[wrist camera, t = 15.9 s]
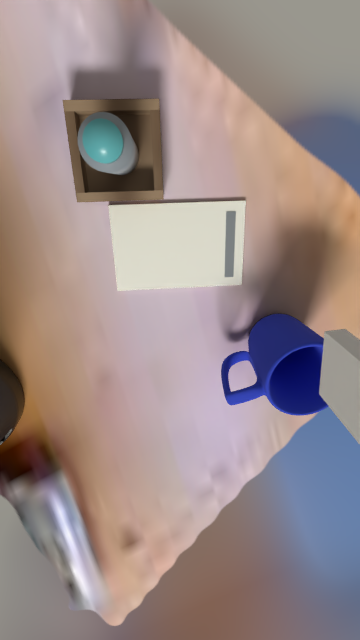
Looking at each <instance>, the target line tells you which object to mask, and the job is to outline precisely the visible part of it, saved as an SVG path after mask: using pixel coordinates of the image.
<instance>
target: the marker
mask: <svg viewBox="0 0 360 640" xmlns="http://www.w3.org/2000/svg"><path fill="white" fill-rule="evenodd" d="M78 147H79V151H80V153H81V155H82V157H83V159H84V160H85V161H86V162H87V164H89V165H90V166H91V167H92V168H94V169H96V170H98V171H101V172H106V173H112V174H117V175H127V174H129V173H131V172H132V171H133V170H134V169H135V168H136V166H137V164H138V161H139V152H138V149H137V146H136V144H135V142H134V140H133V138H132V136H131V134H130V132H129V130H128V128H127V127H126V125H125V124H124V122H123V121H122V120H121V119H119V118H118V117H117V116H115V115H113V114H111V113H108V112H97V113H94V114H91V115H90V116H88V117H87V118H86V119H85V120H84V121H83V122H82V124H81V126H80V128H79V131H78Z"/></svg>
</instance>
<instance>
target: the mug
mask: <svg viewBox="0 0 360 640" xmlns="http://www.w3.org/2000/svg"><path fill="white" fill-rule="evenodd" d="M323 344H324V338H322V337H321V336H319V335H318V334H317V333H315V332H314V331H313V330H311V329H310V328H308V327H307V326H306V325H304V324H303V323H302V322H300V321H299V320H297V319H296V318H294V317H292V316H289V315H286V314H272V315H269V316H266V317H264V318H262V319H261V320H260V321H258V322H257V323H256V324H255V325H254V327H253V328H252V330H251V332H250V335H249V340H248V345H249V352H246V351H240V352H236V353H233V354H231V355H229V356H228V357H227V358H226V359H225V360H224V361H223V364H222V369H221V377H222V384H223V389H224V394H225V398H226V400H227V403H228V404H229V405H235V404H239V403H243V402H247V401H250V400H253V399H256V398H258V397H260V396H262V395H266V396H267V398H268V399H269V401H270V402H271V404H272V405H273V406H274V407H275V408H277V409H278V410H280V411H282V412H284V413H287V414H290V415H308V414H313V413H316V412H319V411H321V410H323V409H325V408H326V407H328V405H327V403H326V402H325V401H324V400H323V398H322V397H321V396H320V395H319V388H320V377H321V366H322V355H323ZM244 360H248V361H250V362H251V364H252V366H253V368H254V371H255V373H256V376H257V382H256V383H255V384H254V385H252V386H250V387H247V388H244V389H241V390H237V391H233V392H231V391H230V387H229V381H228V372H229V369H230V367H231V366H232V365H234V364H235V363H237V362H240V361H244Z"/></svg>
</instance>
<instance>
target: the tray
mask: <svg viewBox="0 0 360 640" xmlns="http://www.w3.org/2000/svg"><path fill="white" fill-rule="evenodd" d="M63 106H64V113H65V120H66V127H67V134H68V141H69V148H70V155H71V162H72V169H73V176H74V183H75V190H76V197H77V202H100V201H131V200H161V199H163V177H162V154H161V132H160V109H159V99H104V100H63ZM97 112H108V113H111V114H113V115H115V116H117V117H118V118H119V119H121V120H122V121H123V122H124V124H125V125H126V127H127V128H128V130H129V132H130V134H131V136H132V138H133V140H134V142H135V144H136V146H137V149H138V152H139V161H138V164H137V166H136V168H135V169H134V170H133V171H132V172H131V173H129V174H127V175H117V174H112V173H106V172H101V171H98V170H96V169H94V168H92V167H91V166H90V165H89V164H87V162H86V161H85V160H84V159H83V157H82V155H81V153H80V151H79V147H78V131H79V128H80V126H81V124H82V122H83V121H84V120H85V119H86V118H87V117H88V116H90V115H91V114H94V113H97Z"/></svg>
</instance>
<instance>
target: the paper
mask: <svg viewBox="0 0 360 640" xmlns="http://www.w3.org/2000/svg"><path fill="white" fill-rule="evenodd" d="M245 206H246V201H216V202H186V203H156V204H127V205H108V207H109V216H110V225H111V235H112V244H113V253H114V263H115V272H116V281H117V291H125V290H145V289H166V288H187V287H207V286H228V285H242V268H243V247H244V226H245Z"/></svg>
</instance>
